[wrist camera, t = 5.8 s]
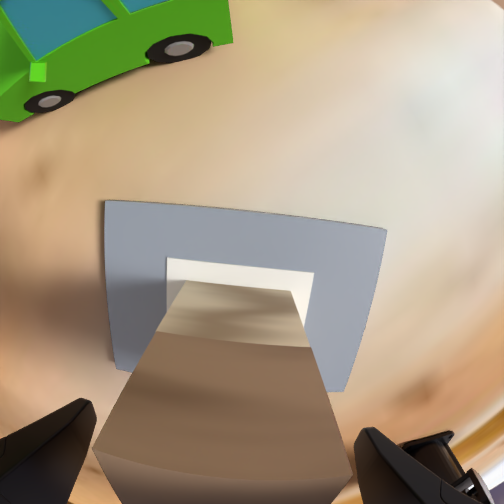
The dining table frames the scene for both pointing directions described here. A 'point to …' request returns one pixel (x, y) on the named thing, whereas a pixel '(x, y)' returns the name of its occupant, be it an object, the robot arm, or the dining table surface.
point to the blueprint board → (240, 272)
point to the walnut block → (223, 427)
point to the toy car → (95, 44)
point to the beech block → (235, 314)
